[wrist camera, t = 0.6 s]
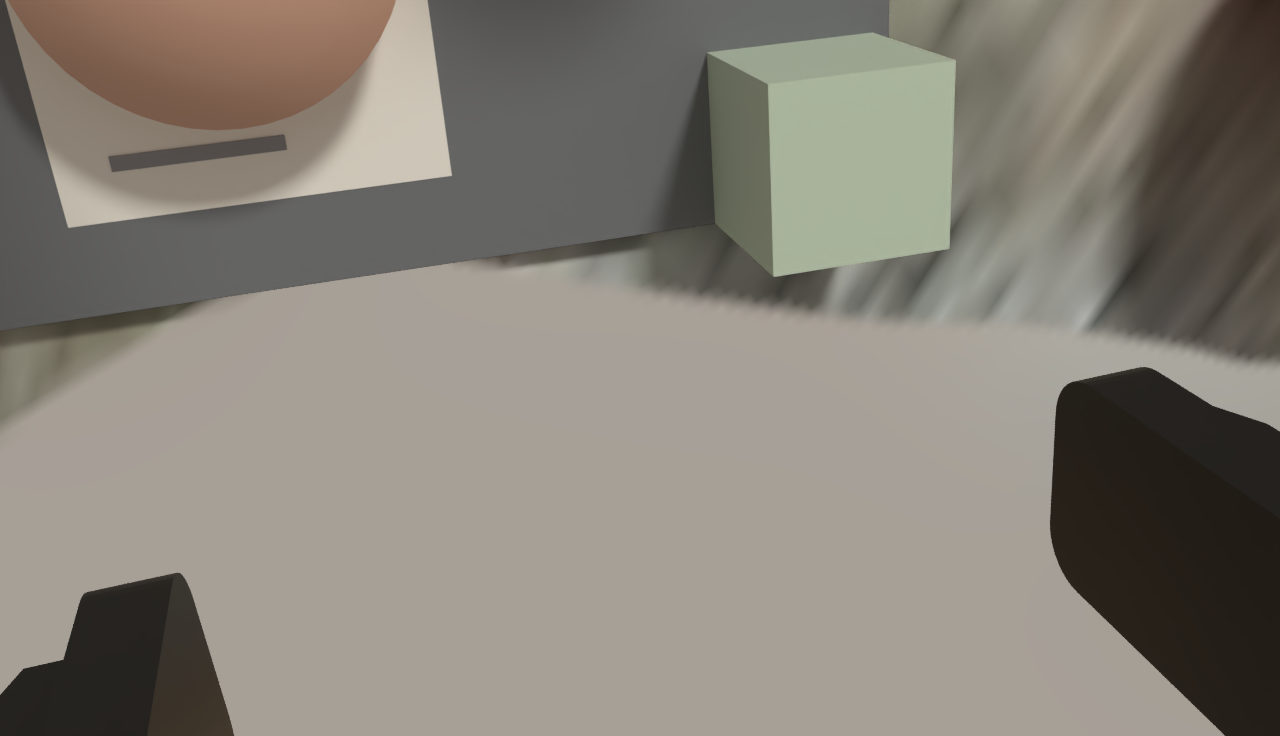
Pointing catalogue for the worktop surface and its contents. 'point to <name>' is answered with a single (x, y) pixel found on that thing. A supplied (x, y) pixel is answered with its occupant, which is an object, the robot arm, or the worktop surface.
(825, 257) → the cube
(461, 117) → the mat
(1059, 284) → the worktop surface
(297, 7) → the peach domed disc
